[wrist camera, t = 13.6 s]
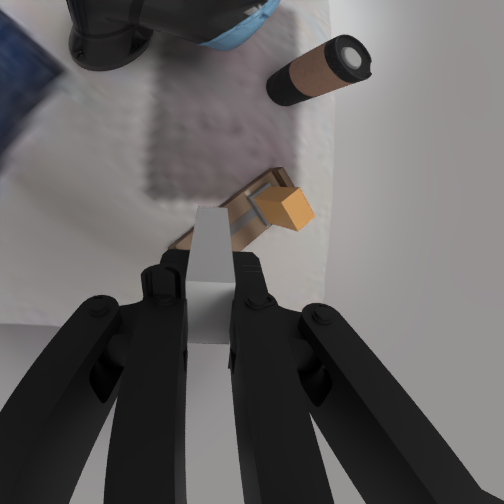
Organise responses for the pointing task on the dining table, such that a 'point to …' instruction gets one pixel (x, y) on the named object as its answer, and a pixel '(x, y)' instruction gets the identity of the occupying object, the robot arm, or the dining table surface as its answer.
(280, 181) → the fader rail
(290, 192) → the fader knob
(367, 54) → the travel mug
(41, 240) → the dining table surface
